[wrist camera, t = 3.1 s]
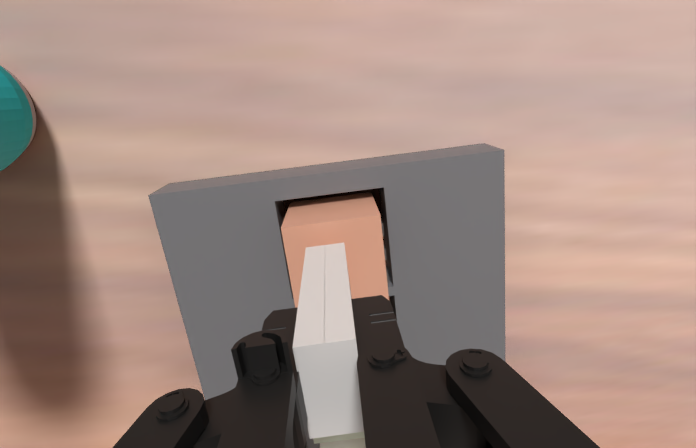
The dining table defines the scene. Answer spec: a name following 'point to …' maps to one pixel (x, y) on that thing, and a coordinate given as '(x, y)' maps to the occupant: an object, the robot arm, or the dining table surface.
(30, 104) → the beverage can
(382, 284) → the orange cube
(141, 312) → the dining table surface
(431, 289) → the tile board
